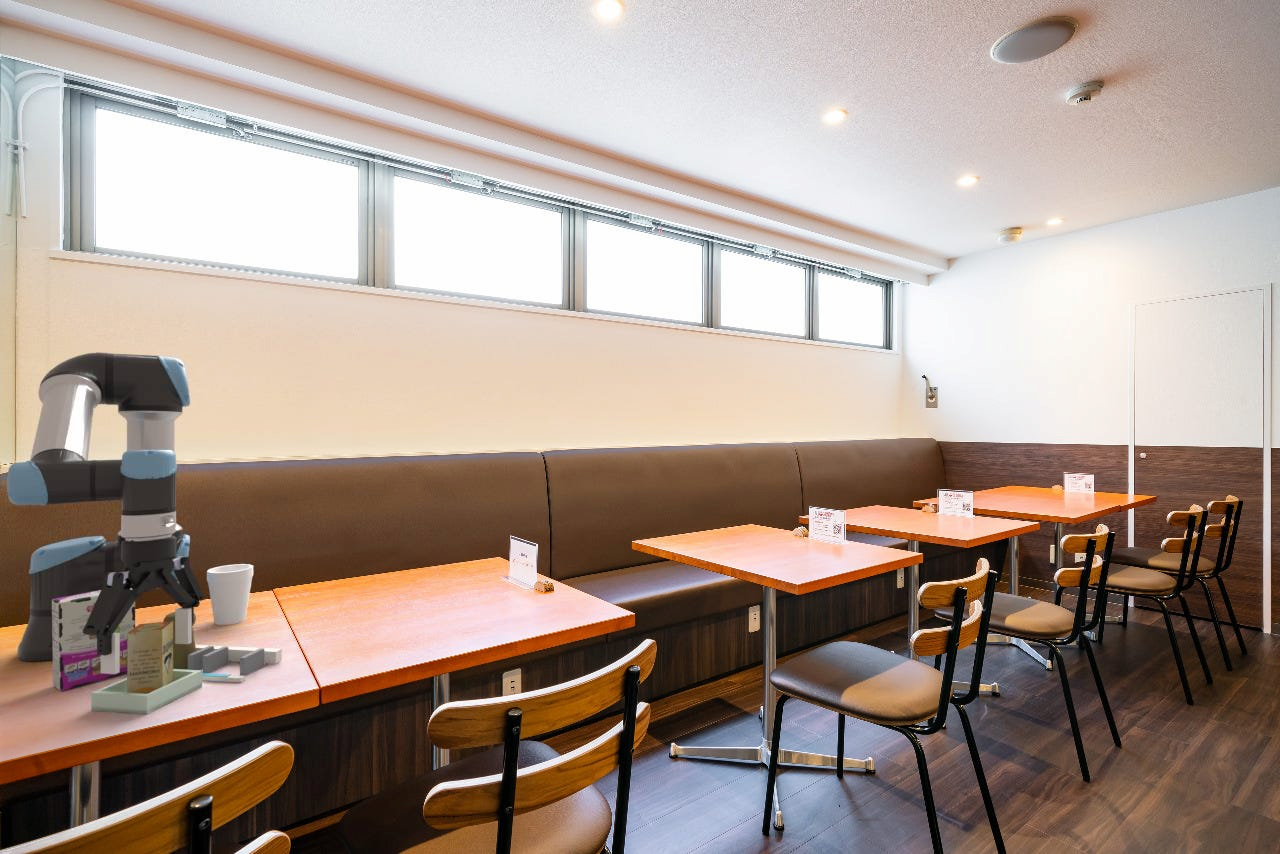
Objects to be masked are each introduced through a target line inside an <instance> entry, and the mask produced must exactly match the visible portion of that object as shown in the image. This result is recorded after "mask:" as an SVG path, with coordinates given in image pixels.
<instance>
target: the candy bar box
mask: <svg viewBox="0 0 1280 854" xmlns="http://www.w3.org/2000/svg"><path fill="white" fill-rule="evenodd" d="M130 590H133V589H132V588H131V589H130ZM100 592H101V590H99V591H93V592H88V593H83V594H78V595H72V596H67V597H62V598H56V599H52V636H53V642H52V643H53V660H52V682H53V683H52V685H53V687H54V688H55V689H57V691H59V692H60V693H61V692H66V691H69V690H73V689H77V688H80V687H83V686H87V685H90V684H91V685H92V684H94V683H97V682H101V681H105V680H108V679H112V678H116V677H118V676H119V677H120V676H122V675H125V674H127V633H128V632H129V631H131V630H132V629H133V628H135V627H136V601H135V602H134V603H133V605H132V606H131V608H130V609H129V611H128V612H127V614H126V615H125V617H124V618H123V620H122V621H121V623H120V624H119V626H118V627H117V629H116V630H115V632H114V633H120V672H119V673H116V674H105V673H101V655H98V654H97V636H96V635H85V634H83V629H84V627H85V625H86V623H87V620H88V618H89V616H90V614H91V612H92V609H93V607H94V605H95V603H96V601H97V598H98V596H99V594H100ZM108 626H109V625H108ZM108 626H107V627H108Z"/></svg>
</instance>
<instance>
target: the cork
mask: <svg viewBox="0 0 1280 854" xmlns="http://www.w3.org/2000/svg"><path fill="white" fill-rule="evenodd" d="M162 620H163V621H162V622H166V621H173V669H183V670H188V655H189V654H191V653H194V652H196V646H195V645H196V641H195V635H194V628H193V626H194V625H195V624H196V620H197V616H196V613H194V621H193V623H192V643H190V644H175V611H173V612H170V613H168V614H166V615H165V617H164V618H163V619H162Z"/></svg>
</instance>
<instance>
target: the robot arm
mask: <svg viewBox="0 0 1280 854" xmlns="http://www.w3.org/2000/svg"><path fill="white" fill-rule="evenodd" d="M187 376H188V375H187V371H186V368H185V364H184V362H183V360H181V359H180V358H176V357H172V356H164V355H163V356H162V355H150V354H146V355H145V354H132V353H131V354H129V353H128V354H127V353H110V352H89V353H84V354H81V355H80V354H79V355H77V356H74V357H70V358H68V359H66V360H64V361H62V362H60V363H59V364H57V365H55V366H54V367H53V368H52V369H50V370H49V371H48V372H47V373H46V374H45V375H44V377H43V378H42V380H41V381H40V384H39V388H38V398H39V400H40V402H41V404H42V407H41V411H40V413H39V414H40V416H39V420H38V423H37V428H36V433H35V437H34V441H33V445H32V450H31V455H30V459H29V460H26V461H21V462H18V461H17V462H14V463H12V464H11V465H9V467H8V471H7V477H6V479H7V481H6V492H7V497H8V500H9V502H10V503H12V504H13V505H16V506H35V505H37V506H46V505H47V506H48V505H61V504H75V503H76V504H77V503H89V502H106V501H107V502H109V501H111V502H112V501H121V515H120V517H121V518H120V521H121V522H120V530H119V531H118V532H117V540H115V541H107V539H106V538H105V537H104V536H103V535H95V536H93V535H92V536H85V537H78V538H72V539H68V540H67V539H66V540H63V541H58V542H55V543H49V544H46V545H44V546H41V547H39V548H37V549H36V550H35V551H34V552H33V553H32V554H31V557H30V567H29V571H28V574H30V578H29V579H30V584H29V585H30V589H29V591H30V593H29V594H30V596H29V597H30V599H29V603H30V604H29V621H28V622H27V625H26V627H25V630H24V633H23V635H22V638H21V641H20V643H18V647H17V659H18V660H21V661H25V662H41V661H53V643H52V642H53V636H52V599H56V598H62V597H67V596H72V595H78V594H83V593H88V592H93V591H99V590H101V592H100V594H99V596H98V598H97V601H96V603H95V605H94V607H93V609H92V612H91V614H90V616H89V618H88V620H87V623H86V625H85V627H84V629H83V634H85V635H96V636H97V654H98V655H101V673H105V674H116V673H119V672H120V633H114V632H115V630H116V629H117V627H118V626H119V624H120V623H121V621H122V620H123V618H124V617H125V615H126V614H127V612H128V611H129V609H130V608H131V606H132V605H133V603H134V602H135V603H136V600H137V599H138V598H139V597H141V596H142V595H143V593H147V592H151V591H152V590H155V589H156V590H159V589H160V588H161V589H162V590H163V591H164V592H165V593H166V594H167V595H168V596H169V597H170V598H171V599H172V600H173V601H174V602H175V603H176V604H177V605H178V607H177V608H175V609H174V612H175V644H190V643H192V627H193V626H192V623H193V621H194V614H195V608H198V607H199V606H200V605H201V604H200V602H202V601H204V599H205V595H204V593H203V590H202V589H201V587H200V585H199V583H198V581H197V579H196V577H195V575H194V573H193V571H192V569H191V564H190V557H189V552H190V543H191V537H190V535H188V534H185V533H184V534H183V527H182V526H181V525H180V524H178V523H177V506H176V505H177V471H178V464H177V454H176V452H175V421H176V420H177V419H178V418H179V417H181V416H182V415H183V408H186V407H189V406H190V405H191V397H190V388H189V383H188V377H187ZM99 405H107V406H111V405H112V406H117V409H118V410H117V414H119V415H120V416H121V417H122V418H123V419H124V420H126V451H124V452H123V453H122V455H121V459H102V460H101V459H90V460H89V451H90V445H91V444H90V442H91V435H92V426H93V416H94V410H95V409H96V408H98V407H97V406H99ZM131 588H132V589H133V590H130V589H131ZM179 606H180V607H179ZM108 625H109V626H108ZM107 626H108V627H107Z"/></svg>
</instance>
